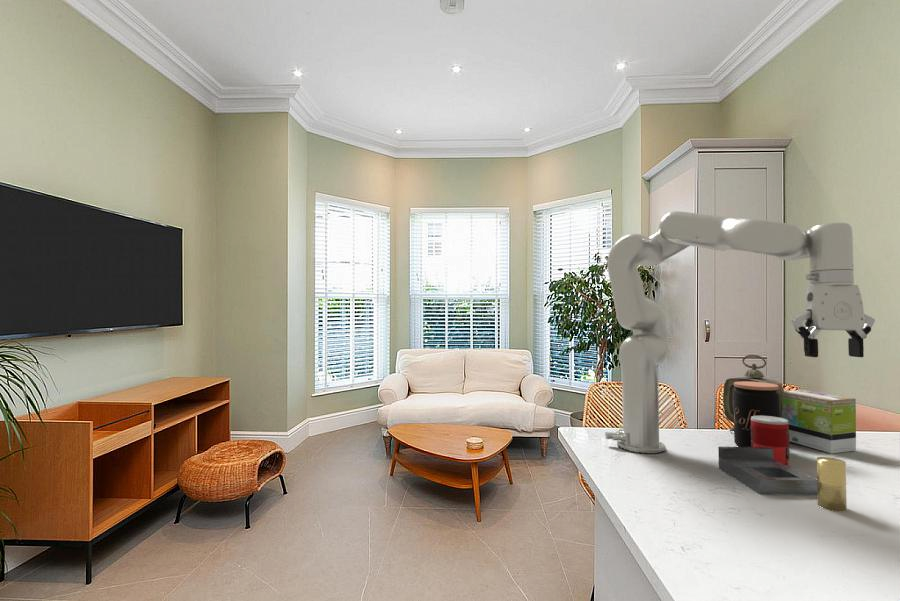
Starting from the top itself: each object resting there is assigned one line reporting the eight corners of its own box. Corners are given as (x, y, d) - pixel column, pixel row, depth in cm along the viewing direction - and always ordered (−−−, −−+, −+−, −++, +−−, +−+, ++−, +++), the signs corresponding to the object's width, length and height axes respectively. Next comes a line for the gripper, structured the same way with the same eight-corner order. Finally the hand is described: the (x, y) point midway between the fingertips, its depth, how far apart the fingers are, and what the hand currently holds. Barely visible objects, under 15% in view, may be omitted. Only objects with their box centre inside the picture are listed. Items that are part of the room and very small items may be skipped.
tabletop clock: (723, 432, 149) (722, 353, 150) (740, 429, 153) (739, 352, 154) (772, 443, 136) (771, 357, 137) (789, 440, 141) (788, 356, 141)
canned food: (795, 468, 115) (794, 422, 115) (759, 465, 116) (758, 421, 117) (780, 458, 122) (779, 416, 123) (746, 456, 124) (745, 414, 124)
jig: (760, 494, 98) (759, 468, 98) (718, 469, 114) (718, 446, 114) (819, 495, 98) (818, 468, 98) (769, 469, 114) (768, 447, 114)
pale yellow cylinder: (829, 511, 89) (828, 463, 90) (812, 502, 94) (811, 456, 94) (852, 511, 89) (851, 463, 90) (834, 502, 94) (833, 457, 94)
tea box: (777, 439, 140) (777, 390, 141) (802, 437, 143) (801, 388, 144) (831, 454, 126) (831, 398, 126) (858, 451, 129) (857, 397, 129)
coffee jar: (725, 446, 134) (725, 382, 134) (749, 441, 138) (748, 380, 139) (764, 456, 124) (763, 388, 125) (788, 451, 129) (787, 385, 129)
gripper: (804, 278, 101) (806, 358, 100) (886, 277, 100) (889, 358, 100) (780, 280, 108) (782, 355, 108) (856, 280, 108) (859, 355, 107)
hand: (833, 356), depth 104 cm, fingers open, 9 cm apart
